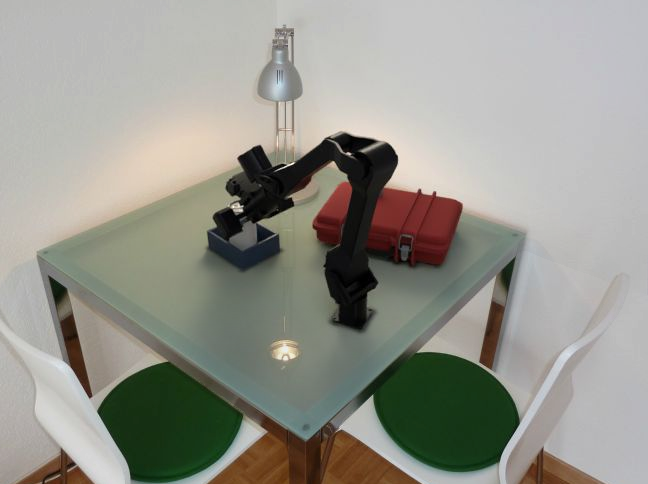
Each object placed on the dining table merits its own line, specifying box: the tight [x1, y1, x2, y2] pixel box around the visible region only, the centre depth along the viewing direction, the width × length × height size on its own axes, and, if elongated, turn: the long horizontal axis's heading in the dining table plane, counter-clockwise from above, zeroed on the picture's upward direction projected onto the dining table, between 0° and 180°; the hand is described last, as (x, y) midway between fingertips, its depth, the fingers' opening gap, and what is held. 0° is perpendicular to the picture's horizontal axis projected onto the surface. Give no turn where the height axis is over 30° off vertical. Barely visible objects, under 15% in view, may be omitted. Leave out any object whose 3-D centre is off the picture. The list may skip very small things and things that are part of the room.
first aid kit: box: [312, 181, 464, 267], centre depth 152 cm, size 32×23×9 cm
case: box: [206, 221, 281, 271], centre depth 149 cm, size 13×11×5 cm
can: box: [227, 199, 258, 251], centre depth 147 cm, size 6×6×12 cm
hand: (238, 223), depth 148 cm, fingers closed on can, 6 cm apart
